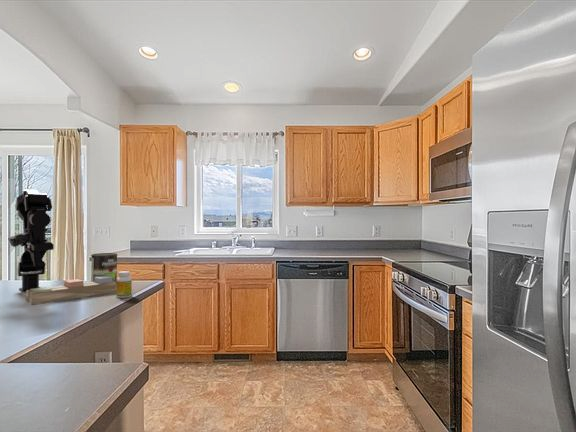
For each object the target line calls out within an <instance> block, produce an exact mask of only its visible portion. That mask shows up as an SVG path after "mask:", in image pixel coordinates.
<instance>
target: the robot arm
mask: <svg viewBox="0 0 576 432" xmlns="http://www.w3.org/2000/svg"><path fill="white" fill-rule="evenodd" d="M52 210H53V204H52V199H50V196H48V194H47V193H41V192H40V193H39V191H38V190H36V189H23V191H22V193H21V194H20V195H19V196H17V197H16V203H15V211H17V216H18V217H19V218H20V220H22V225H23V226H22V227H23V228H22V229H23V230H22V233H19V234H15V235H12V236H10V237H8V241H9V244H10V246H11V247H14V248H15V247H19V246H20V247H23V249H24V250H23V251H24V252H23V253H22V254H21V257H20V259H19V261H18V266H17V277H21V287H19V289H18V290H20V291H21V292H25V293H26V290H31V289H34V288H42V286H40V275H45V273H46V271H45V270H46V262H45V260H44V259H43V258H44V256H45V255H46V253H47V251H53V250H54V247H55V244H54V243H53V242H51V241H49V240H48V239H47V238H46V235H47V234H46V232H48V228H47V226H48V225H50V223H51V217H50V215H49V214H48V213H47V212H52Z"/></svg>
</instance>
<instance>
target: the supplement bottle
mask: <svg viewBox="0 0 576 432" xmlns="http://www.w3.org/2000/svg"><path fill="white" fill-rule="evenodd" d="M130 275H131V272H130V271H129V270H128V271H127V270H122V271H118V276H117V285H116V294H115V296H116V298H118V299H127V298H129V297H132V290H133V289H132V283H133V282H132V281H133V280H132V277H131V276H130Z"/></svg>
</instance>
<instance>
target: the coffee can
mask: <svg viewBox="0 0 576 432" xmlns="http://www.w3.org/2000/svg"><path fill="white" fill-rule="evenodd" d="M90 255H91V264H90V265H91V268H90V269H91V274H90V275H91V276H90V282H94V277H99V276H110V277H112V281H114V282H116V286H117V278H118V275H117V274H118V272H117V271H118V270H117V269H118V253H115V252H99V253H91V254H90Z"/></svg>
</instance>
